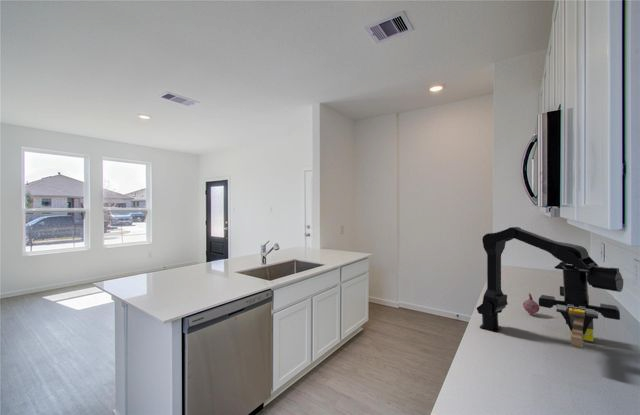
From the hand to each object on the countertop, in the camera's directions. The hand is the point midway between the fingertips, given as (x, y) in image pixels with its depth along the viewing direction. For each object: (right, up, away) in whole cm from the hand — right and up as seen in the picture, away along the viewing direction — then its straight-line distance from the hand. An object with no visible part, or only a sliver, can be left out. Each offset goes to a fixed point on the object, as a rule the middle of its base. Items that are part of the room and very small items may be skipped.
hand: (577, 332), depth 87 cm
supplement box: (+14, -9, +13) cm, 21 cm away
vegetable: (+14, -9, +37) cm, 41 cm away
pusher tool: (+1, -1, +1) cm, 2 cm away
